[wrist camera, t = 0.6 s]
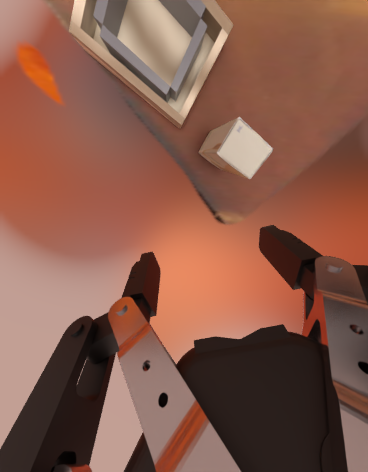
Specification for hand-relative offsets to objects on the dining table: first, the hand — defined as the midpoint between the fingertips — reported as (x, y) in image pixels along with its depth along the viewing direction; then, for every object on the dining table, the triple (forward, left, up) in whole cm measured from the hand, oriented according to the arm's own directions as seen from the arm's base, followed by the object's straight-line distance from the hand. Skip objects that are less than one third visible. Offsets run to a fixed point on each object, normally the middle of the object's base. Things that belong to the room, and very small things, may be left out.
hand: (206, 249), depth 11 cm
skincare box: (-9, +2, -24) cm, 25 cm away
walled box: (-14, -14, -23) cm, 31 cm away
